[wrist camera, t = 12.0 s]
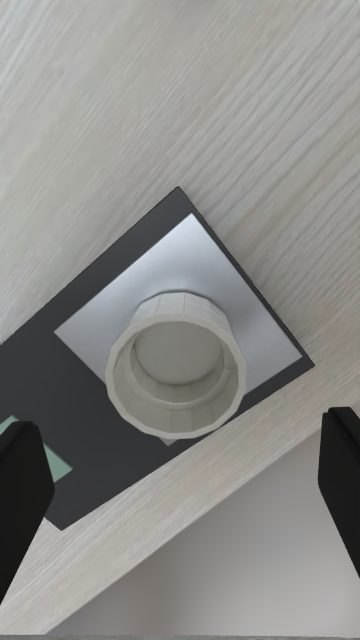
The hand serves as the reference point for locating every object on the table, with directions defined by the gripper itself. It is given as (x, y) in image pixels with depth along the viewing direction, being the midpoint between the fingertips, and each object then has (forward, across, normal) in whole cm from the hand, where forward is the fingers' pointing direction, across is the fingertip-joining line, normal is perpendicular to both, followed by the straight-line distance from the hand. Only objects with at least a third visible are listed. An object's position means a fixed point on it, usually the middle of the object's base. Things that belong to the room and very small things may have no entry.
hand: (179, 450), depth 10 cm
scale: (+12, +6, +4) cm, 14 cm away
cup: (+9, 0, 0) cm, 9 cm away
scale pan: (+10, +1, 0) cm, 10 cm away
